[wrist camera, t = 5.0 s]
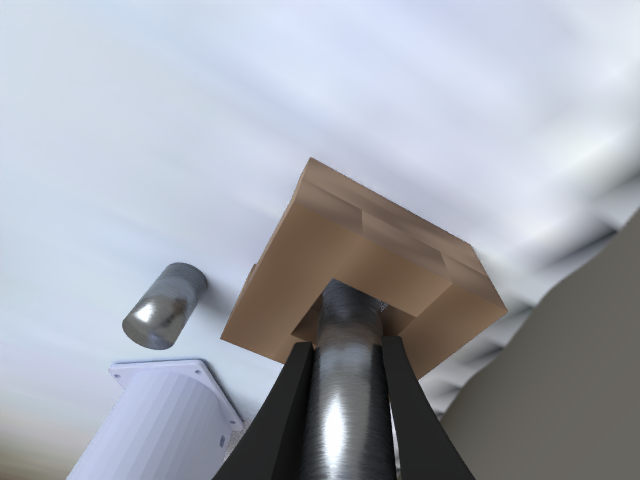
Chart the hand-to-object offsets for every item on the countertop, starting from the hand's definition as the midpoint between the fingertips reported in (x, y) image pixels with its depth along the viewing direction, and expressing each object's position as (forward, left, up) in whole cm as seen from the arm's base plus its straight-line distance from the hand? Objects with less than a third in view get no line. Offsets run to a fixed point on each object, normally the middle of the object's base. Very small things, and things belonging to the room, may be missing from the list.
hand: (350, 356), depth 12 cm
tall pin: (0, 0, -3) cm, 3 cm away
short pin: (0, +10, -6) cm, 12 cm away
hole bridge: (0, 0, -6) cm, 6 cm away
